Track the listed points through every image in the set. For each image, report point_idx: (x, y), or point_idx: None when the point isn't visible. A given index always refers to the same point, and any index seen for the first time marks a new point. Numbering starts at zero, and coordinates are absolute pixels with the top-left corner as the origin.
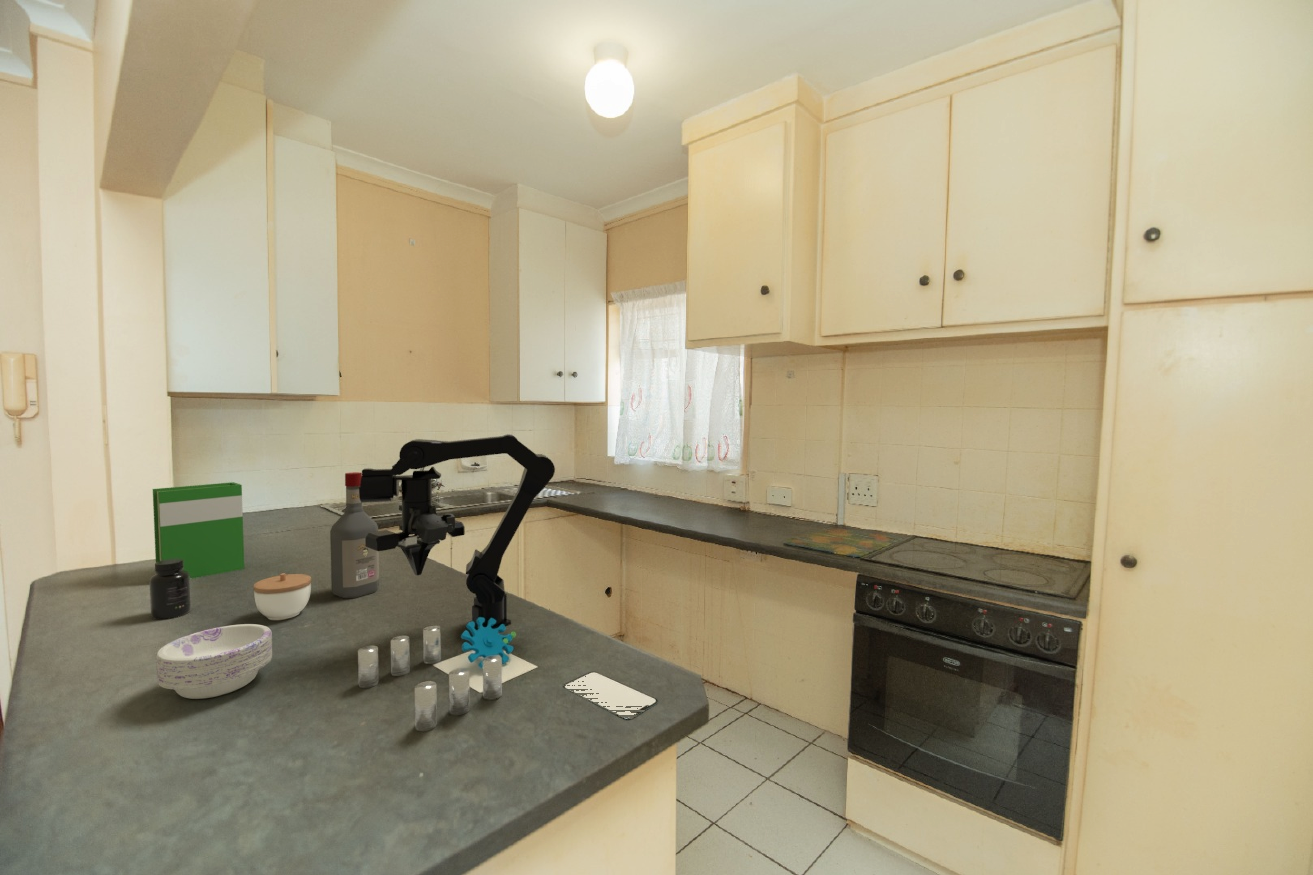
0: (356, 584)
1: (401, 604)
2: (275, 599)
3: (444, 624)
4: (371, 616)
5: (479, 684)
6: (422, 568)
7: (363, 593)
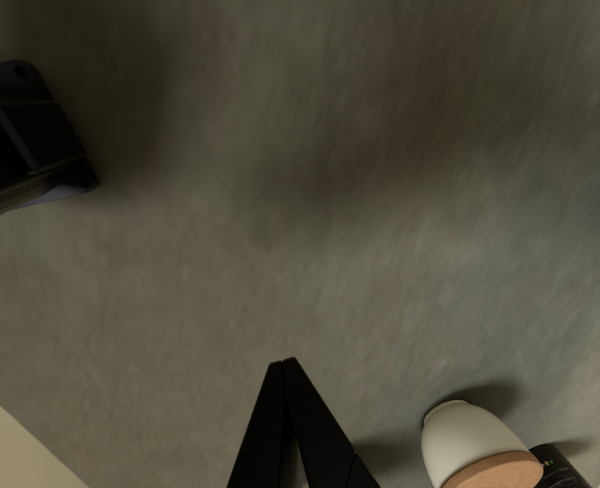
0: None
1: None
2: (507, 435)
3: (185, 232)
4: (334, 360)
5: None
6: (263, 399)
7: None
